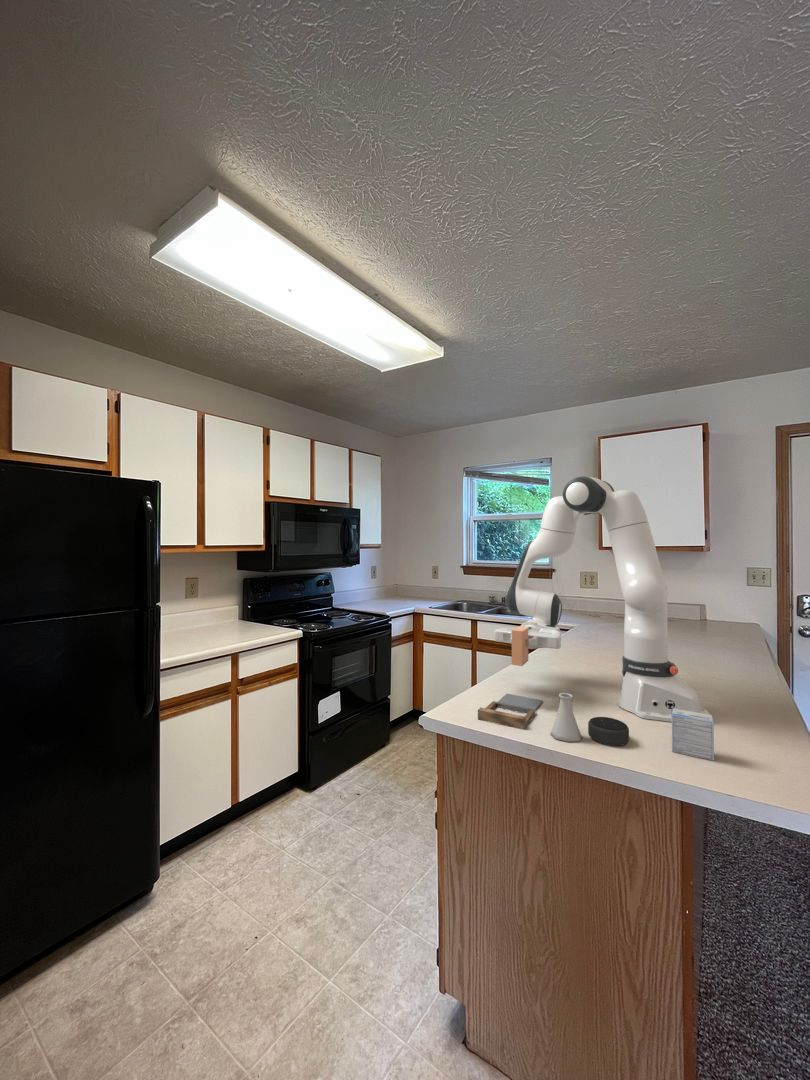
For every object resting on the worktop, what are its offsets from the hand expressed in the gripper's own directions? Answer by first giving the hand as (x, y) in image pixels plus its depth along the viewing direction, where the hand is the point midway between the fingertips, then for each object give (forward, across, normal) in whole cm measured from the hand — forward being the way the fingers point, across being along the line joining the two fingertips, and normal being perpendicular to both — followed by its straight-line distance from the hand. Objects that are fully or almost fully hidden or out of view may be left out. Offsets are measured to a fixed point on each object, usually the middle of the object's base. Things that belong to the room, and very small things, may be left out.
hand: (520, 642), depth 129 cm
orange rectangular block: (0, 0, +6) cm, 6 cm away
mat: (0, 0, +18) cm, 18 cm away
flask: (+17, +16, +18) cm, 30 cm away
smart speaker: (+13, +25, +18) cm, 34 cm away
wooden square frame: (+12, 0, +18) cm, 22 cm away
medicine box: (+11, +42, +18) cm, 47 cm away
